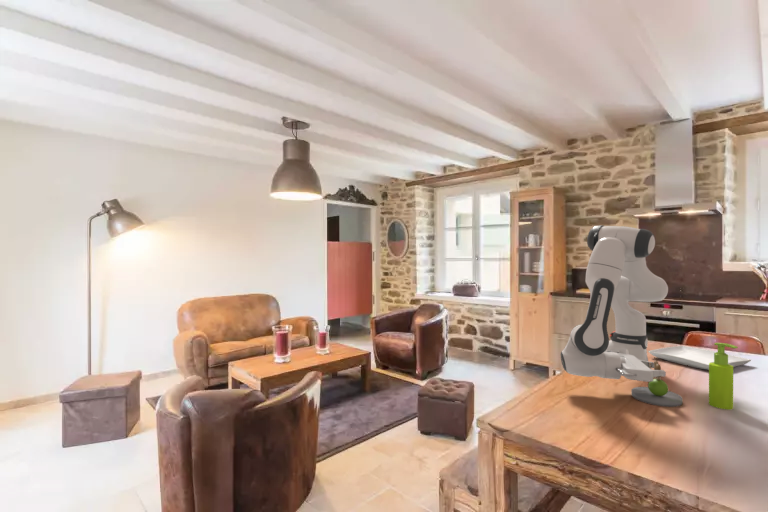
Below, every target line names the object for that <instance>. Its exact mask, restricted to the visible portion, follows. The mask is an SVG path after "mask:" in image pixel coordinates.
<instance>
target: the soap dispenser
mask: <svg viewBox="0 0 768 512" xmlns="http://www.w3.org/2000/svg"><path fill="white" fill-rule="evenodd" d="M714 346H717V351H715V352H716V353H714V362H711V363H709V370H708V405H709V406H711V407H713V408H717V409H720V410H727V411H728V410H733V409H734V367H733V366H732V365H729V364H728V355H729V354H728V353H727V352H726V351H725V349H726V348H725V347H727V348H730V349H739V346H736V345H733V344H730V343H726V342H725V343H724V342H714Z"/></svg>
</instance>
